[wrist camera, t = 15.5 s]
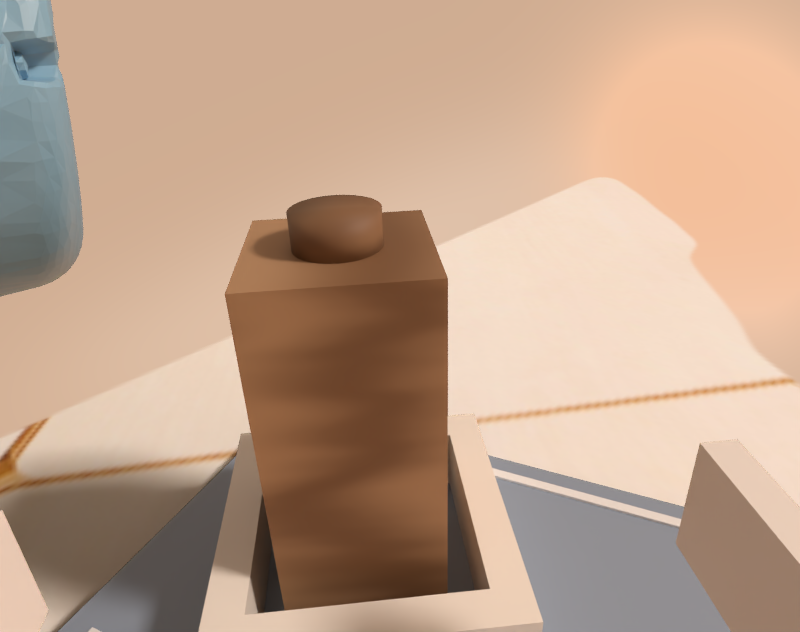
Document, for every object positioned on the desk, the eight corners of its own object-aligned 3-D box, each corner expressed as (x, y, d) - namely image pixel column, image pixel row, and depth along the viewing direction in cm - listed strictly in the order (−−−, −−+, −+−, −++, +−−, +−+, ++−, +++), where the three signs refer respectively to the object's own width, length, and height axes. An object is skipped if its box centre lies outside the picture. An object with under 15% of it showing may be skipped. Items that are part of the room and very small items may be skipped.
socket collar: (209, 715, 17) (192, 661, 16) (250, 481, 25) (241, 433, 24) (536, 677, 18) (543, 622, 17) (472, 460, 26) (474, 413, 25)
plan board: (48, 669, 20) (37, 647, 19) (292, 419, 31) (289, 401, 30) (753, 1068, 12) (767, 1049, 11) (736, 541, 23) (743, 520, 23)
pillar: (289, 637, 19) (216, 252, 13) (298, 517, 24) (247, 187, 17) (447, 621, 19) (447, 236, 13) (427, 505, 24) (420, 177, 18)
